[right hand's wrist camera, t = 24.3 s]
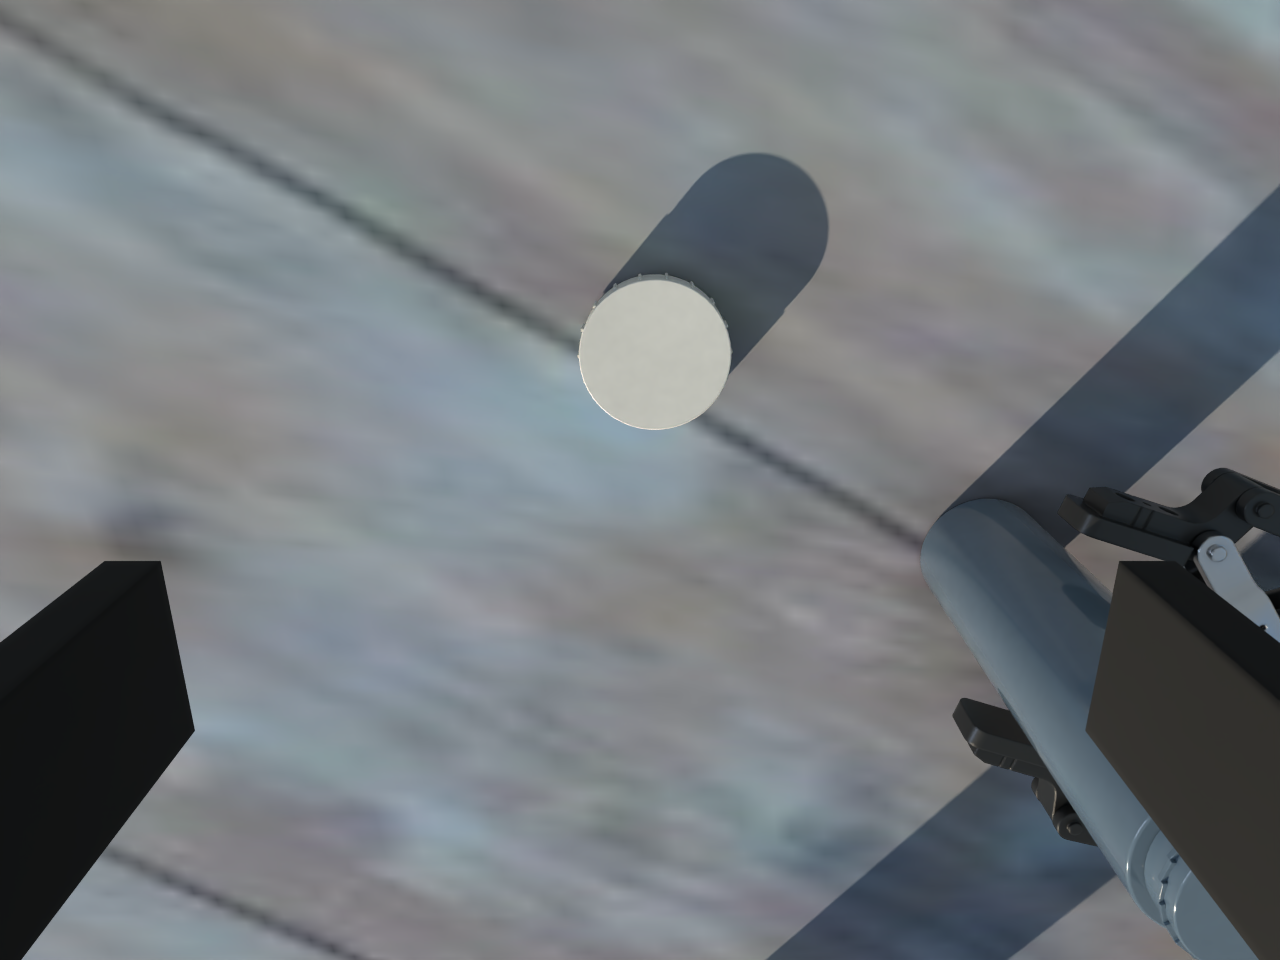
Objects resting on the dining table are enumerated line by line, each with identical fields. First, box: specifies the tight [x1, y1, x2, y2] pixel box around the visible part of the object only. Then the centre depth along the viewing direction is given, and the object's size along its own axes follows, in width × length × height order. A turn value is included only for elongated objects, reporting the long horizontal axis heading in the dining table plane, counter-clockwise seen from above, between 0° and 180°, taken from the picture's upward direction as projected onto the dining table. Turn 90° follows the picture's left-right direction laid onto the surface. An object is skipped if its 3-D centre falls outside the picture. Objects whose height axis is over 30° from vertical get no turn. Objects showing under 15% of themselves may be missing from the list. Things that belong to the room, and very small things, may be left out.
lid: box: [578, 273, 733, 430], centre depth 34 cm, size 6×6×2 cm
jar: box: [920, 499, 1259, 960], centre depth 29 cm, size 5×5×19 cm
